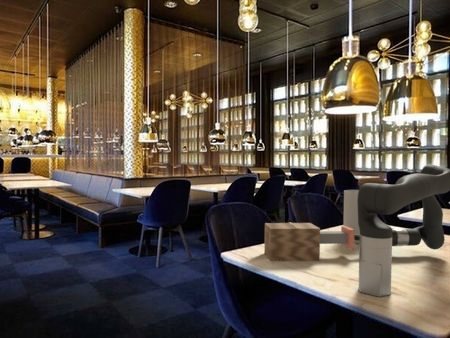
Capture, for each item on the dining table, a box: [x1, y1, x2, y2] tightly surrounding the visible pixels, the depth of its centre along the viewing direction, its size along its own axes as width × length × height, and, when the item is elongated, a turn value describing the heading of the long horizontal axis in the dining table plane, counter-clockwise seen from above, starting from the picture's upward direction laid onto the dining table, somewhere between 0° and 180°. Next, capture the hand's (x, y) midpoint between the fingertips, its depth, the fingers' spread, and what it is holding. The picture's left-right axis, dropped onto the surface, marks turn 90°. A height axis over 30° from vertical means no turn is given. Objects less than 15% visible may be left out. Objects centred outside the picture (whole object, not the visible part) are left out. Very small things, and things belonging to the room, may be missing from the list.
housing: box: [264, 221, 321, 262], centre depth 143 cm, size 20×12×13 cm, turn 94°
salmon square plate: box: [320, 225, 355, 250], centre depth 144 cm, size 20×8×8 cm, turn 94°
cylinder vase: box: [342, 189, 360, 245], centre depth 172 cm, size 12×12×25 cm
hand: (354, 237), depth 145 cm, fingers closed
